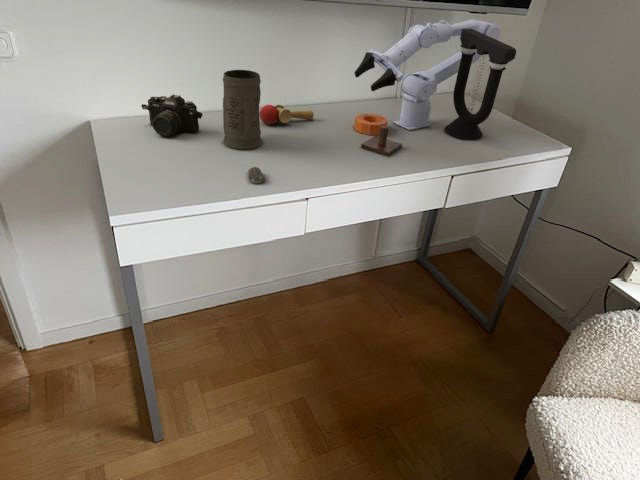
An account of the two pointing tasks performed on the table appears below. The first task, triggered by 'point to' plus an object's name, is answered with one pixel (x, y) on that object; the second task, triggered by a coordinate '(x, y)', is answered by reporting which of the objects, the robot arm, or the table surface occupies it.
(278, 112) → the kendama
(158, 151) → the table surface
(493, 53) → the spring support
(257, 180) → the block
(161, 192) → the table surface
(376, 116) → the ring
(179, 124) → the film camera
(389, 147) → the stand
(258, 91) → the beer stein
